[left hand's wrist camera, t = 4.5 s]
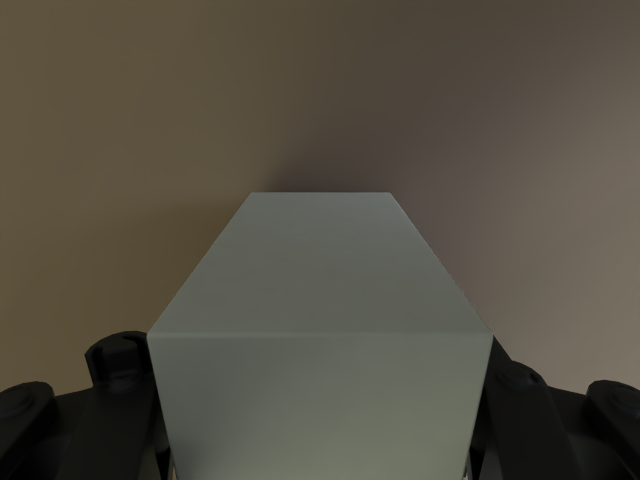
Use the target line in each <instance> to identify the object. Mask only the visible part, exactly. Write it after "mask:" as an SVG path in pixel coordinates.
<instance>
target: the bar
mask: <svg viewBox="0 0 640 480" xmlns="http://www.w3.org/2000/svg"><path fill="white" fill-rule="evenodd" d="M147 342H148V347H149V352H150V356H151V361H152V366H153V370H154V375H155V380H156V384H157V389H158V394H159V398H160V403H161V408H162V412H163V417H164V422H165V426H166V431H167V435H168V440H169V445H170V449H171V454H172V459H173V463H174V468H175V473H176V477H177V480H463V477H464V472H465V468H466V463H467V458H468V454H469V449H470V444H471V440H472V435H473V430H474V426H475V421H476V416H477V412H478V407H479V402H480V398H481V393H482V388H483V384H484V379H485V374H486V370H487V365H488V360H489V356H490V351H491V347H492V342H493V334H492V332H491V331H490V329H489V328H488V326H487V325H486V324H485V322H484V321H483V320H482V318H481V317H480V315H479V314H478V313H477V311H476V310H475V309H474V307H473V306H472V304H471V303H470V302H469V300H468V299H467V298H466V296H465V295H464V294H463V292H462V291H461V289H460V288H459V287H458V285H457V284H456V283H455V281H454V280H453V278H452V277H451V276H450V274H449V273H448V272H447V270H446V269H445V267H444V266H443V265H442V263H441V262H440V261H439V259H438V258H437V257H436V255H435V254H434V252H433V251H432V250H431V248H430V247H429V246H428V244H427V243H426V241H425V240H424V239H423V237H422V236H421V235H420V233H419V232H418V230H417V229H416V228H415V226H414V225H413V224H412V222H411V221H410V220H409V218H408V217H407V215H406V214H405V213H404V211H403V210H402V209H401V207H400V206H399V204H398V203H397V202H396V200H395V199H394V198H393V196H392V195H391V193H389V192H251V193H250V194H249V195H248V197H247V198H246V199H245V201H244V202H243V203H242V205H241V206H240V207H239V209H238V210H237V212H236V213H235V214H234V216H233V217H232V218H231V220H230V221H229V222H228V224H227V225H226V227H225V228H224V229H223V231H222V232H221V233H220V235H219V236H218V237H217V239H216V240H215V242H214V243H213V244H212V246H211V247H210V248H209V250H208V251H207V252H206V254H205V255H204V257H203V258H202V259H201V261H200V262H199V263H198V265H197V266H196V267H195V269H194V270H193V272H192V273H191V274H190V276H189V277H188V278H187V280H186V281H185V282H184V284H183V285H182V287H181V288H180V289H179V291H178V292H177V293H176V295H175V296H174V297H173V299H172V300H171V302H170V303H169V304H168V306H167V307H166V308H165V310H164V311H163V312H162V314H161V315H160V317H159V318H158V319H157V321H156V322H155V323H154V325H153V326H152V327H151V329H150V330H149V332H148V333H147Z"/></svg>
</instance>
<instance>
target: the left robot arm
mask: <svg viewBox="0 0 640 480" xmlns="http://www.w3.org/2000/svg"><path fill="white" fill-rule="evenodd" d="M84 355H85V358H86V362H87V365H88V368H89V372H90V375H91V378H92V382H93V387H92V388H89V389H86V390H82V391H77V392H73V393H68V394H64V395H59V396H55V395H54V392H53V389H52V387H51V386H50V385H49V384H47V383H45V382H38V381H35V382H28V383H22V384H20V385H16V386H13V387H11V388H8V389H6V390H4V391H2V392H0V480H172V476H173V466H174V463H173V459H172V454H171V449H170V445H169V440H168V435H167V431H166V426H165V422H164V417H163V412H162V408H161V403H160V398H159V394H158V389H157V384H156V380H155V375H154V370H153V366H152V361H151V356H150V352H149V347H148V342H147V334H146V333H144V332H139V331H124V332H120V333H116V334H112V335H110V336H108V337H106V338H103V339H101V340H99V341H98V342H97V343H95V344H94V345H92V346H91V347H90V348H89V349H88V351H87V352H86V353H85V354H84ZM466 473H467V475H468V480H640V390H638V389H636V388H634V387H632V386H629V385H626V384H623V383H620V382H616V381H609V380H600V381H594V382H593V383H592V384H590V385H589V387H588V390H587V393H586V395H583V394H579V393H574V392H570V391H565V390H561V389H557V388H553V387H550V386H547V384H546V383H545V381H544V380H543V378H542V377H541V376H540V375H539V374H538V373H537V372H535V371H534V370H533V369H532V368H530V367H528V366H526V365H524V364H522V363H519V362H516V361H512V360H511V359H510V357H509V356H508V354H507V353H506V352H505V350H504V349H503V348H502V346H501V345H500V343H499V342H498V341H497V339H496V338H495V337H494V335H493V342H492V347H491V351H490V356H489V360H488V365H487V370H486V374H485V379H484V384H483V388H482V393H481V398H480V402H479V407H478V412H477V416H476V421H475V426H474V430H473V435H472V440H471V444H470V449H469V454H468V458H467V463H466V468H465V472H464V477H466Z"/></svg>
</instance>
